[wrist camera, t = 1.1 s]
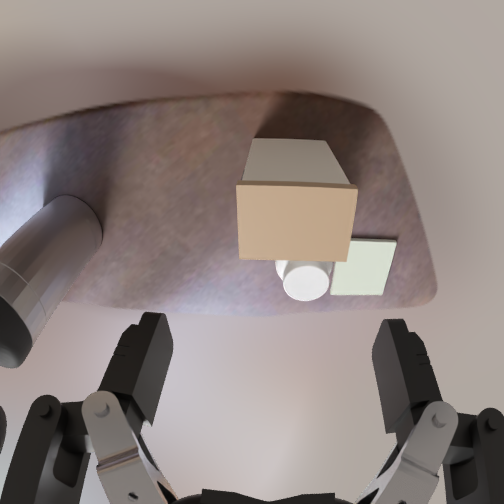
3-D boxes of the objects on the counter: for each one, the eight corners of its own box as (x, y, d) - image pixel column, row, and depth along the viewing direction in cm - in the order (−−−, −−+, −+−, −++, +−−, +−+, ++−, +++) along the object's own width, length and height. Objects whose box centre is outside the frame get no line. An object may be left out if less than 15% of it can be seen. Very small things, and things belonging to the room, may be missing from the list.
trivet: (329, 291, 40) (330, 294, 39) (338, 237, 35) (339, 240, 35) (380, 291, 39) (382, 294, 39) (395, 239, 35) (396, 242, 34)
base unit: (251, 186, 32) (237, 259, 22) (250, 136, 29) (234, 185, 19) (329, 189, 32) (354, 262, 21) (333, 139, 29) (367, 190, 18)
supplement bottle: (271, 243, 36) (269, 302, 28) (281, 200, 33) (282, 253, 25) (316, 251, 36) (326, 311, 28) (330, 210, 33) (346, 264, 25)
